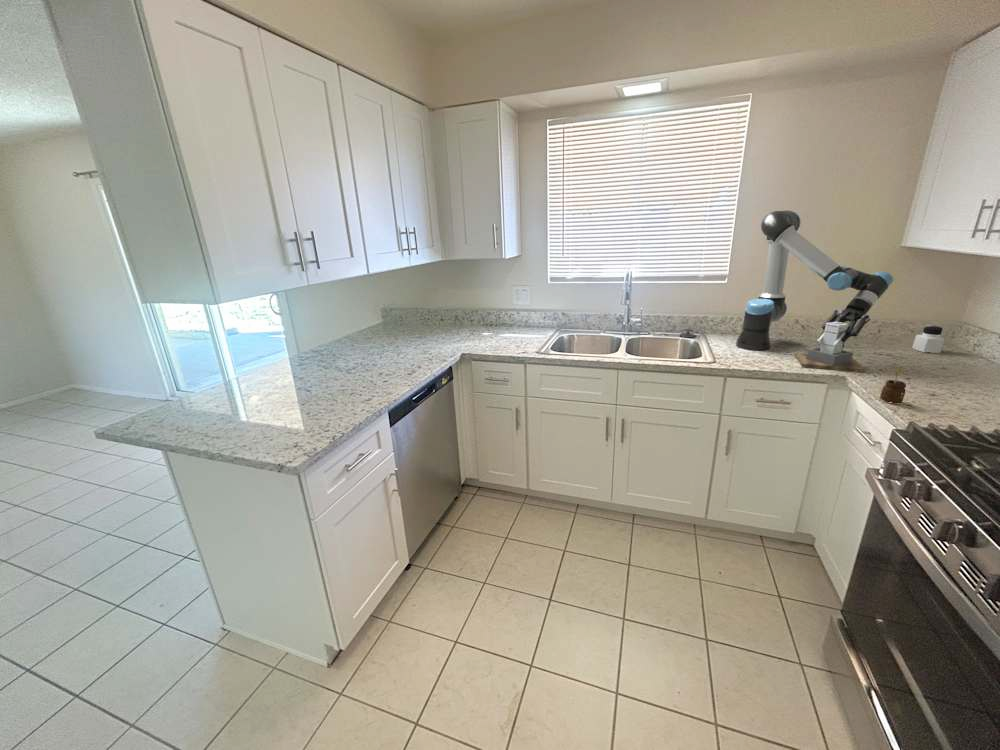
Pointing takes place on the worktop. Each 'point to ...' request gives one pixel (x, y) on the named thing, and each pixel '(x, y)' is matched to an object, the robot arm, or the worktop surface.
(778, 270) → the robot arm
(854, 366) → the walnut board
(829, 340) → the syrup box
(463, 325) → the worktop surface
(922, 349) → the medicine bottle
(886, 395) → the brown potted plant
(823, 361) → the holder
